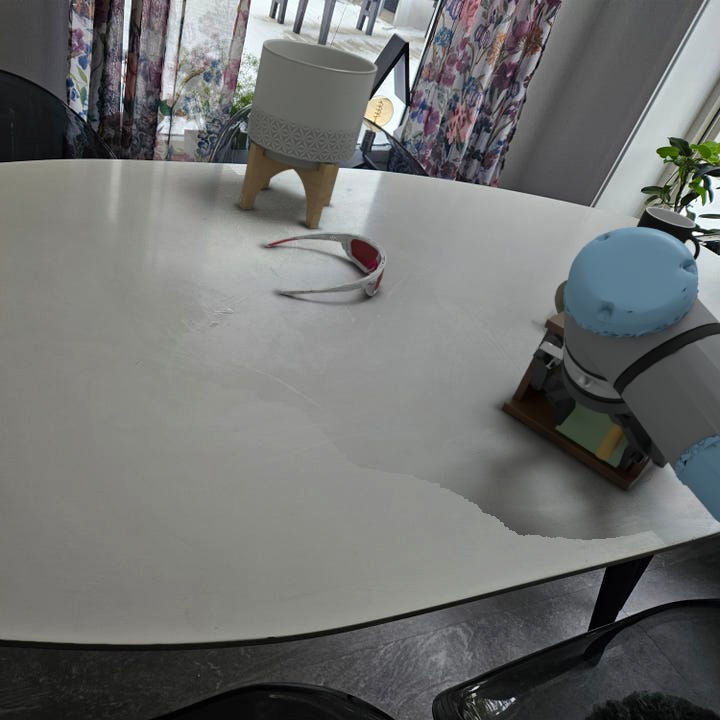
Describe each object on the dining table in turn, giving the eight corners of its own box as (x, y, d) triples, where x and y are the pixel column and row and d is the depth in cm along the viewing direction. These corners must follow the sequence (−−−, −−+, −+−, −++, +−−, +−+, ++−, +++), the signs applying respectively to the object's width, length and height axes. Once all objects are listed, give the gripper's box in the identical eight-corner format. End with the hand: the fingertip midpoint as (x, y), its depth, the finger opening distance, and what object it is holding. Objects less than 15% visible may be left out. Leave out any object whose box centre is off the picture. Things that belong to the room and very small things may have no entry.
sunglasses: (396, 308, 101) (401, 277, 98) (281, 315, 100) (282, 284, 97) (364, 253, 115) (368, 225, 112) (263, 258, 113) (264, 230, 110)
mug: (612, 258, 135) (638, 209, 130) (630, 250, 141) (656, 203, 135) (673, 287, 129) (703, 237, 123) (689, 278, 134) (719, 230, 129)
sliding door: (618, 465, 78) (667, 392, 72) (597, 483, 74) (647, 408, 69) (558, 426, 82) (599, 354, 76) (535, 442, 79) (577, 368, 73)
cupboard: (659, 458, 83) (722, 371, 75) (626, 490, 77) (690, 398, 69) (540, 385, 92) (585, 300, 84) (501, 408, 85) (547, 318, 78)
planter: (268, 231, 116) (304, 68, 101) (216, 185, 128) (242, 34, 114) (356, 225, 125) (401, 75, 110) (300, 183, 138) (333, 43, 123)
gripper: (481, 329, 62) (497, 409, 82) (707, 468, 52) (663, 522, 71) (534, 266, 63) (538, 360, 82) (769, 392, 52) (709, 466, 72)
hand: (596, 435), depth 77 cm, fingers open, 7 cm apart
